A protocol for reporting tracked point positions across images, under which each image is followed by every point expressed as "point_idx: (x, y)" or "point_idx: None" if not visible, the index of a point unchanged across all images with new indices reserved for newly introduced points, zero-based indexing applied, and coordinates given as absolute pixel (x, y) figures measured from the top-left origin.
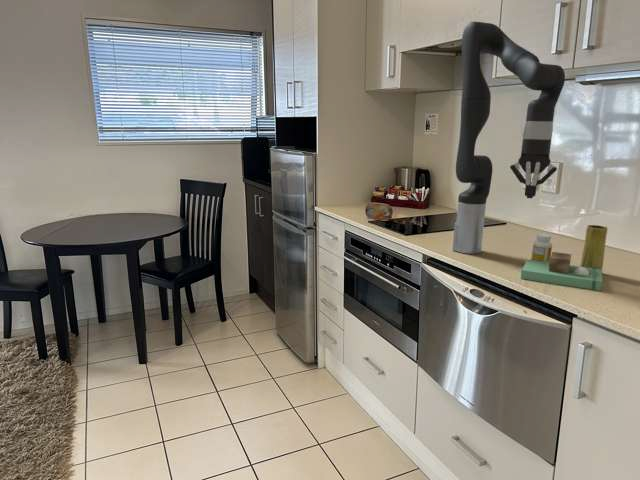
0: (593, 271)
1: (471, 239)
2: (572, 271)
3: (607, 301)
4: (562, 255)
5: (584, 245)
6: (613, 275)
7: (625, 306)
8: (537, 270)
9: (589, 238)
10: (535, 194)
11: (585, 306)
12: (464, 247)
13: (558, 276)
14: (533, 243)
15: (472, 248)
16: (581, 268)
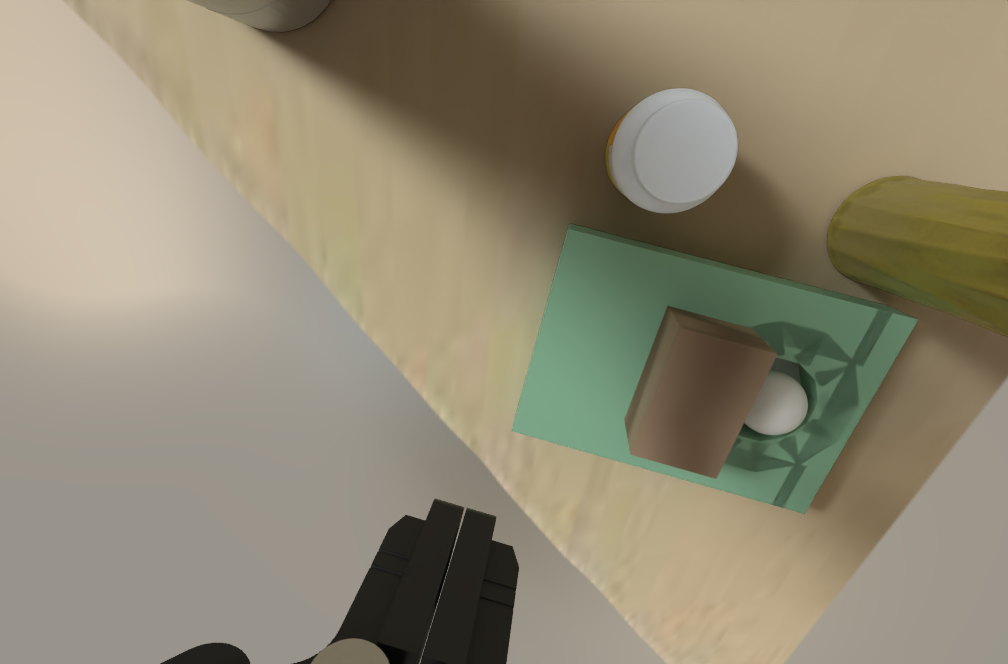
0: (848, 370)
1: (238, 6)
2: None
3: (756, 582)
4: (711, 395)
5: (932, 252)
6: None
7: (794, 611)
8: (577, 420)
9: (979, 314)
10: (514, 582)
11: (663, 627)
12: (239, 21)
13: (648, 467)
14: (612, 148)
15: (284, 18)
16: (774, 427)
